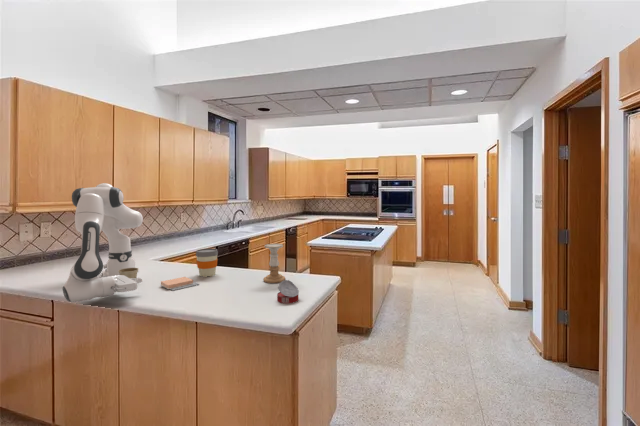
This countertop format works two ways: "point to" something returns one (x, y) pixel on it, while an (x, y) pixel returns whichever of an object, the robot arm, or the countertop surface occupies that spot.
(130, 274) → the flower pot
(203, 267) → the reusable coffee cup
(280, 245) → the candle holder
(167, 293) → the countertop surface
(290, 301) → the canned food
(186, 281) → the tile
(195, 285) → the mat
